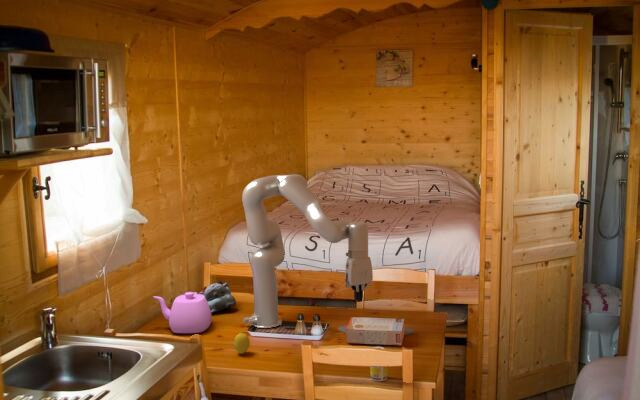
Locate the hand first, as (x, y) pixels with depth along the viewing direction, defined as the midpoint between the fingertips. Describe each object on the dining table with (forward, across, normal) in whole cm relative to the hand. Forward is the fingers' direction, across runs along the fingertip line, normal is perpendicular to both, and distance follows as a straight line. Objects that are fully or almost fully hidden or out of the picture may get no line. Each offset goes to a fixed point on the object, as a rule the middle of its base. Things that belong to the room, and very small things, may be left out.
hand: (358, 300), depth 267 cm
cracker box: (+10, -6, -2) cm, 12 cm away
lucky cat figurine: (+14, -37, +58) cm, 70 cm away
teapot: (+14, -55, +41) cm, 70 cm away
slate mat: (+13, +8, 0) cm, 15 cm away
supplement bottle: (+13, -17, -40) cm, 46 cm away
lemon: (+14, -47, +4) cm, 49 cm away
